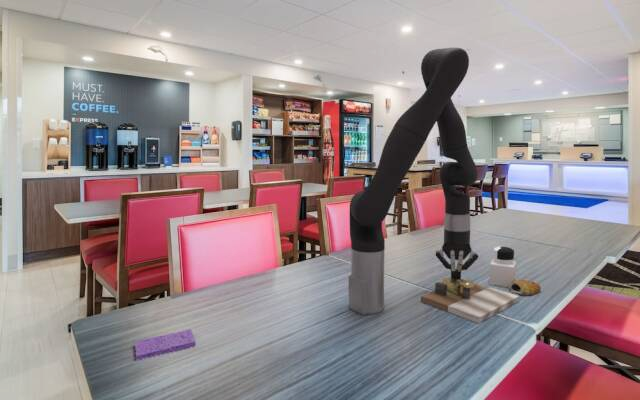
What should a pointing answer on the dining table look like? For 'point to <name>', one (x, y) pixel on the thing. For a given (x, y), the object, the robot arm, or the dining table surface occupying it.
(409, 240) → the dining table surface
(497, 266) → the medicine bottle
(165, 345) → the sponges
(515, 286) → the pastry
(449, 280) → the latch bar
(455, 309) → the door board
